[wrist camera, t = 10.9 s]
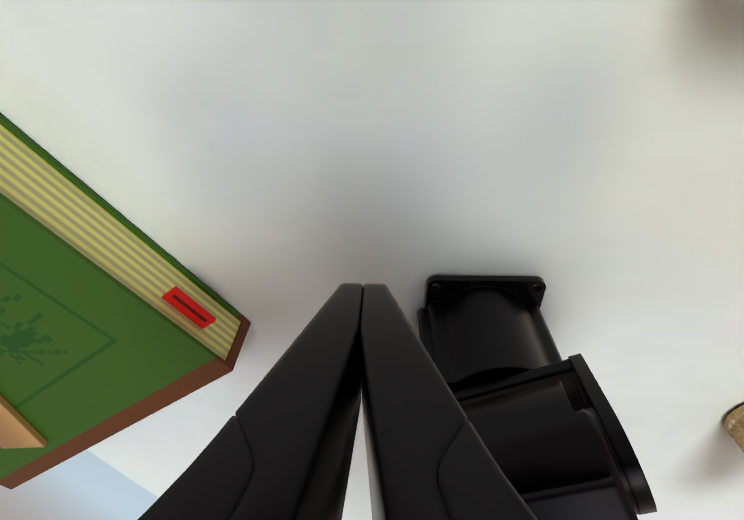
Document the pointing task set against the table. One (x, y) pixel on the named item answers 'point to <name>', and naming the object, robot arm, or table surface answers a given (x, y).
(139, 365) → the hardcover book
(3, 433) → the ruler
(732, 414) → the sprinkles bottle
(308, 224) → the table surface
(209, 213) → the table surface
